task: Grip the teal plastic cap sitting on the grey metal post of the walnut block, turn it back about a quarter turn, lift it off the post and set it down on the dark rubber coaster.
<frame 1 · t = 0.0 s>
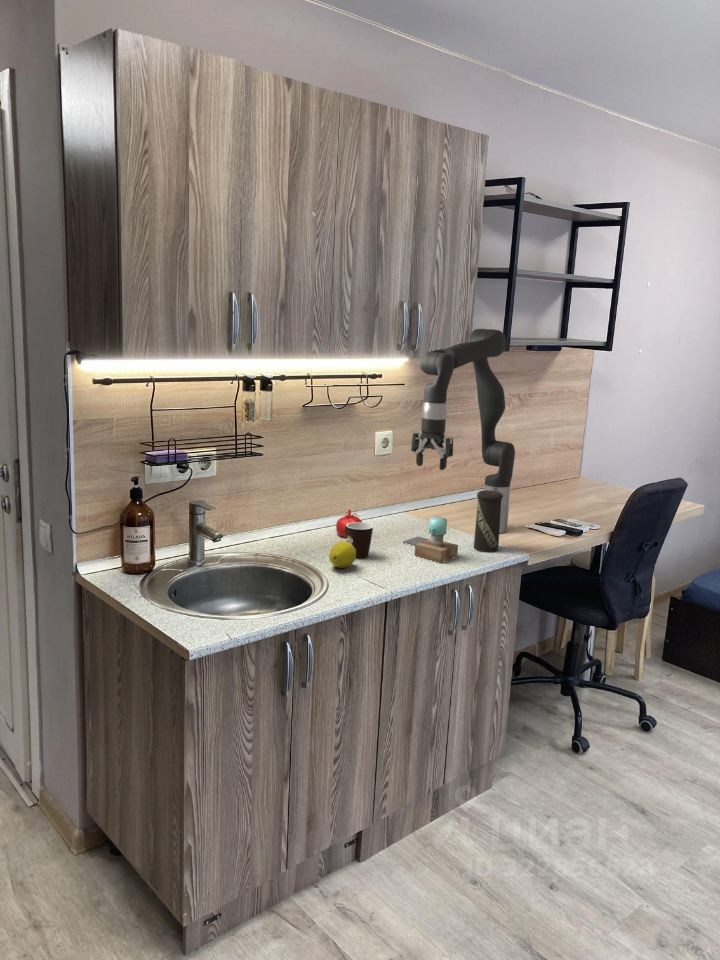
hand: (430, 467, 250), 29 cm above the table, tool pointing down, fingers open, 8 cm apart
post block: (435, 556, 256), on the table
container: (485, 549, 267), on the table
cap: (437, 532, 254), point 8 cm above the table, touching post block
lemon: (341, 568, 240), on the table
pomegranate: (349, 536, 275), on the table
coaster: (421, 543, 270), on the table
coffee mug: (357, 555, 254), on the table
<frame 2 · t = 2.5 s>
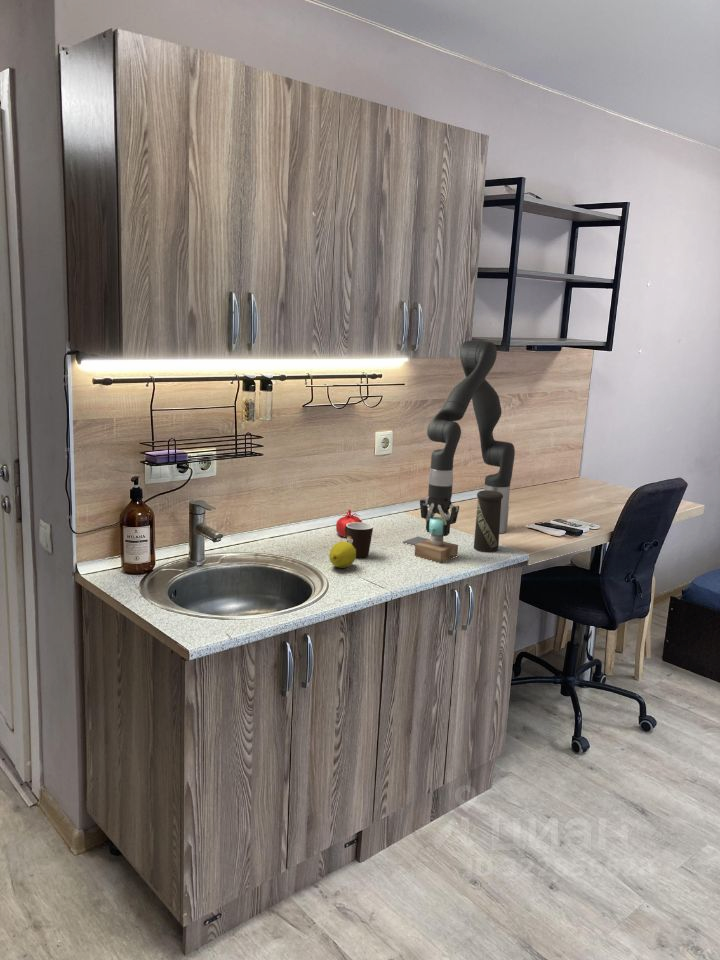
hand: (437, 533, 254), 8 cm above the table, tool pointing down, fingers closed on cap, 5 cm apart
cap: (437, 532, 254), point 8 cm above the table, touching gripper, post block
everything else where it was.
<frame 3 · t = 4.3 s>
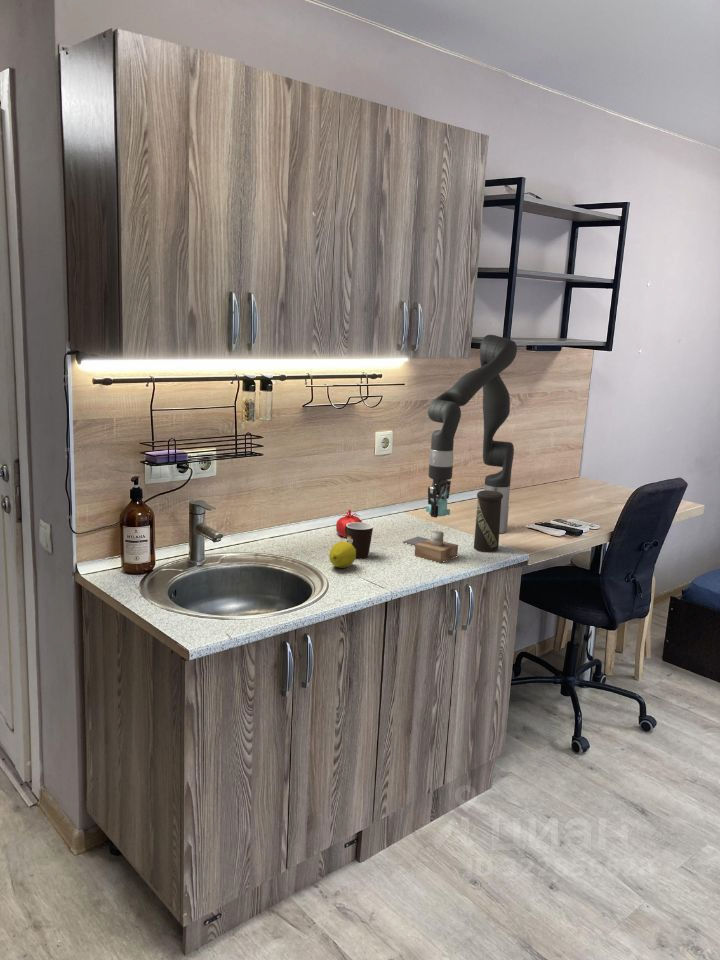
hand: (437, 514, 253), 14 cm above the table, tool pointing down, fingers closed on cap, 5 cm apart
cap: (437, 514, 253), point 14 cm above the table, touching gripper
everything else where it was.
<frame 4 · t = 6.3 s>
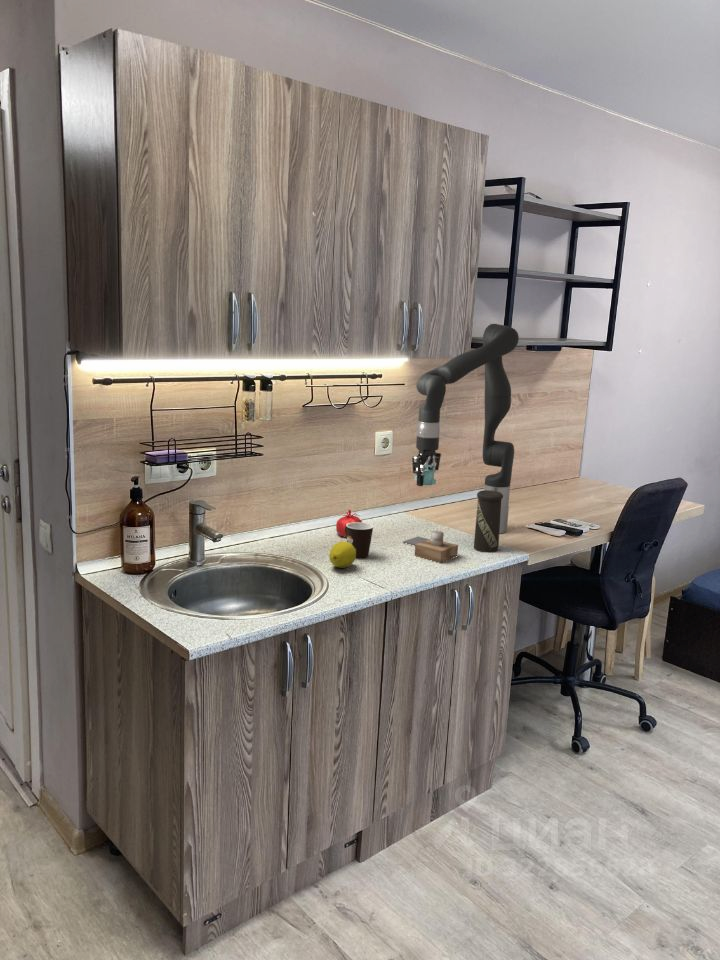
hand: (425, 484, 265), 21 cm above the table, tool pointing down, fingers closed on cap, 5 cm apart
cap: (424, 483, 265), point 21 cm above the table, touching gripper
everything else where it was.
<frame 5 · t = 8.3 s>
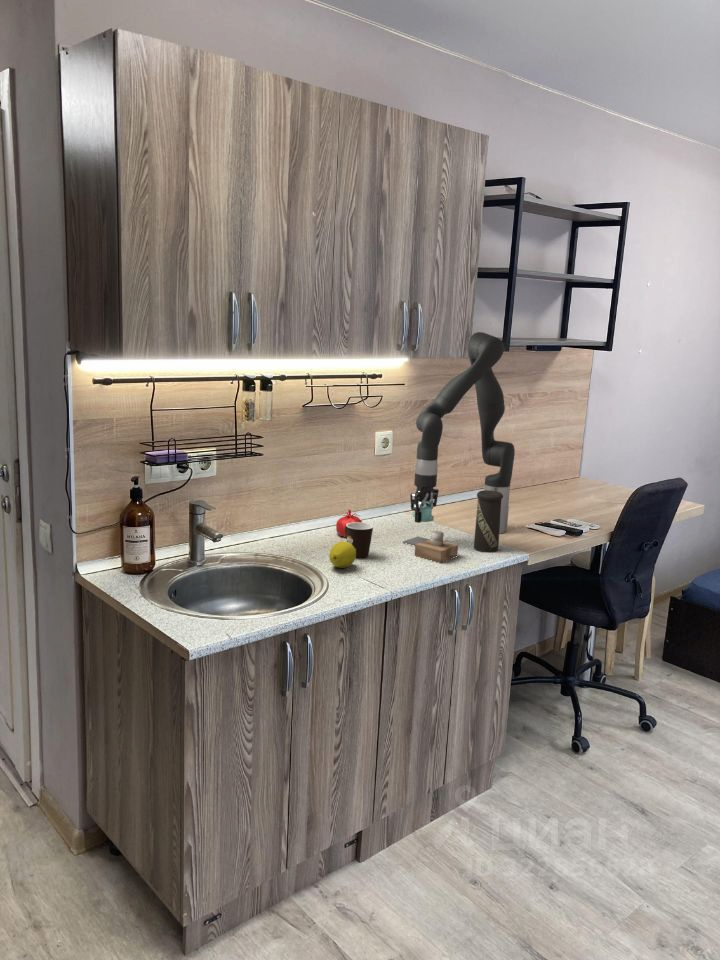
hand: (422, 520, 268), 8 cm above the table, tool pointing down, fingers closed on cap, 5 cm apart
cap: (422, 519, 268), point 8 cm above the table, touching gripper
everything else where it was.
when the fingers open (2 cm above the table, at t = 10.2 s): cap drops 1 cm, resting on coaster.
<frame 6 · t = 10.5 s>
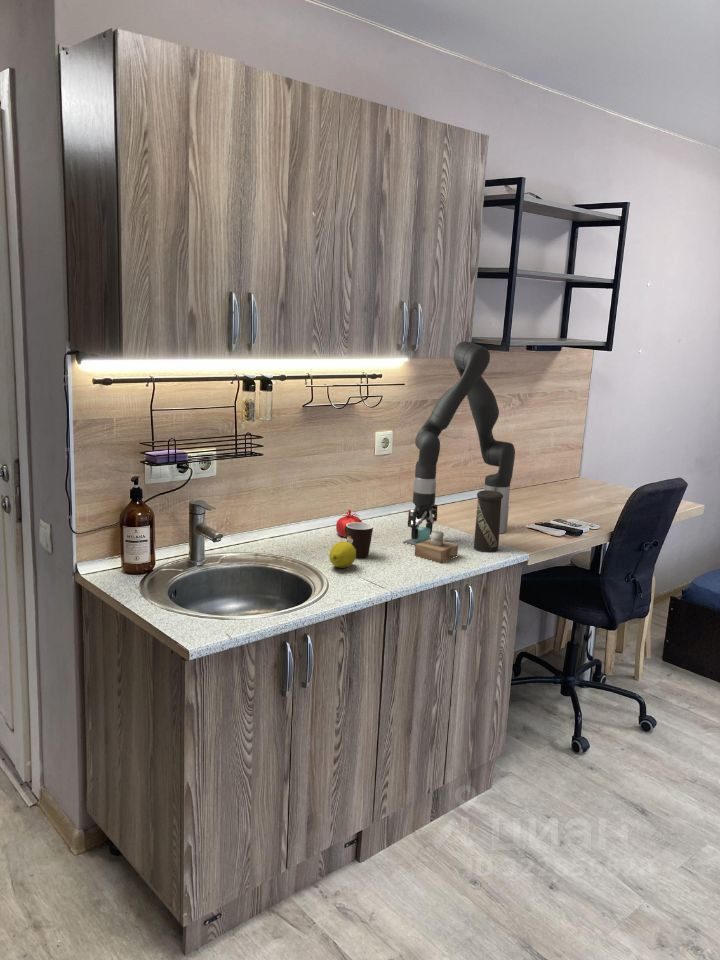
hand: (421, 536, 269), 2 cm above the table, tool pointing down, fingers open, 8 cm apart
cap: (421, 541, 270), point 1 cm above the table, touching coaster
everything else where it was.
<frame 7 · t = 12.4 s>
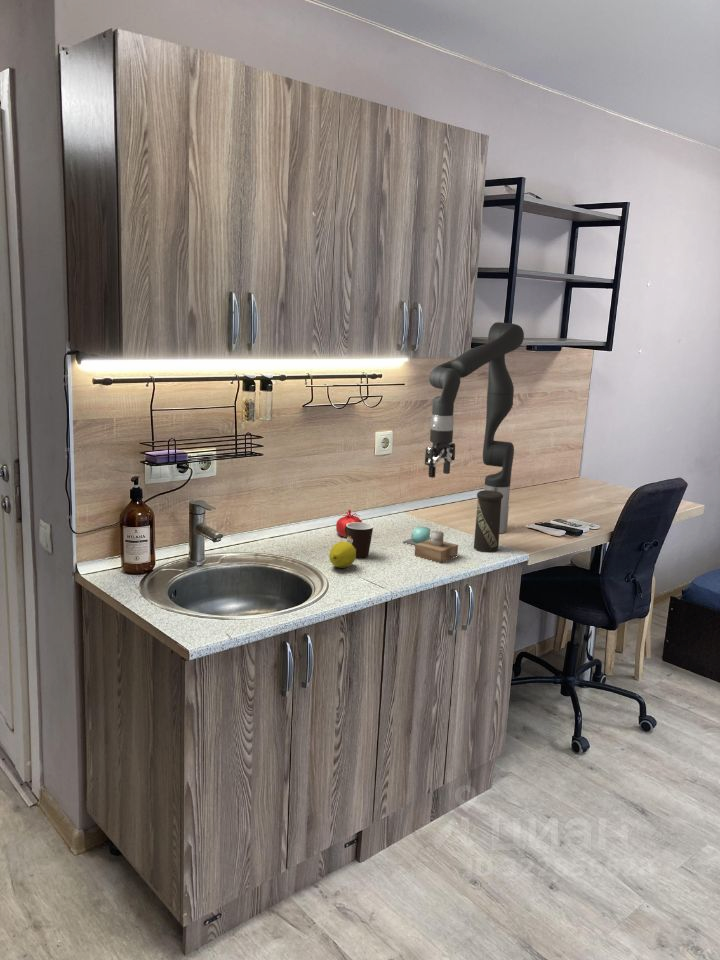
hand: (439, 475, 265), 24 cm above the table, tool pointing down, fingers open, 8 cm apart
nothing on the table moved.
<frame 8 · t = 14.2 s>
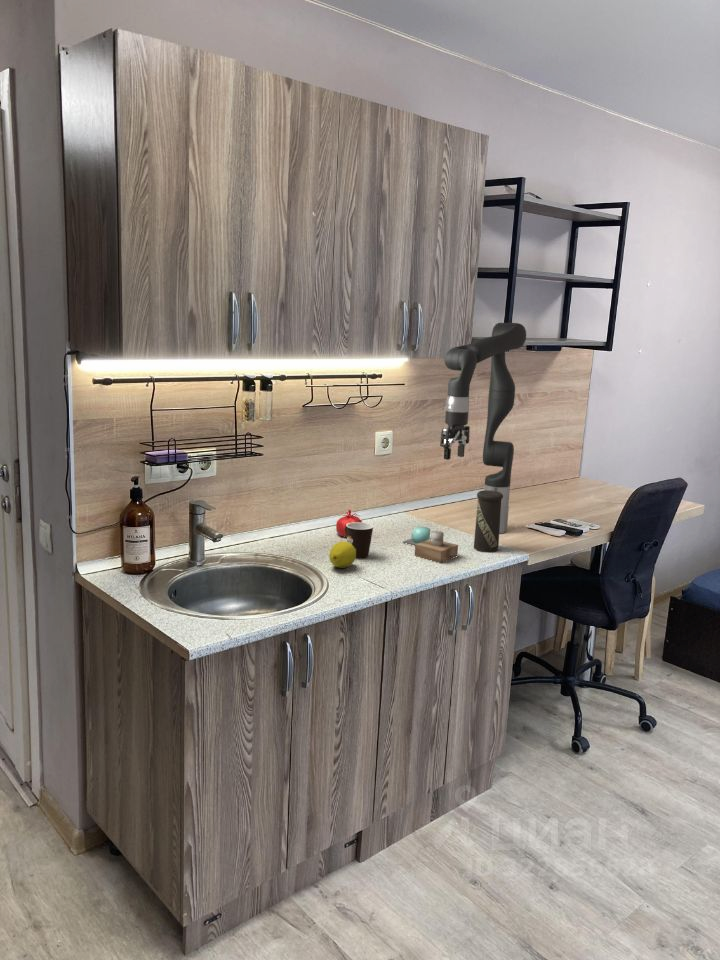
hand: (453, 458, 264), 30 cm above the table, tool pointing down, fingers open, 8 cm apart
nothing on the table moved.
at the end: cap inside the target area on the coaster (0.0 cm from its centre), point 0.6 cm above the coaster's base; cap tilted 1°; the gripper is holding nothing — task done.
